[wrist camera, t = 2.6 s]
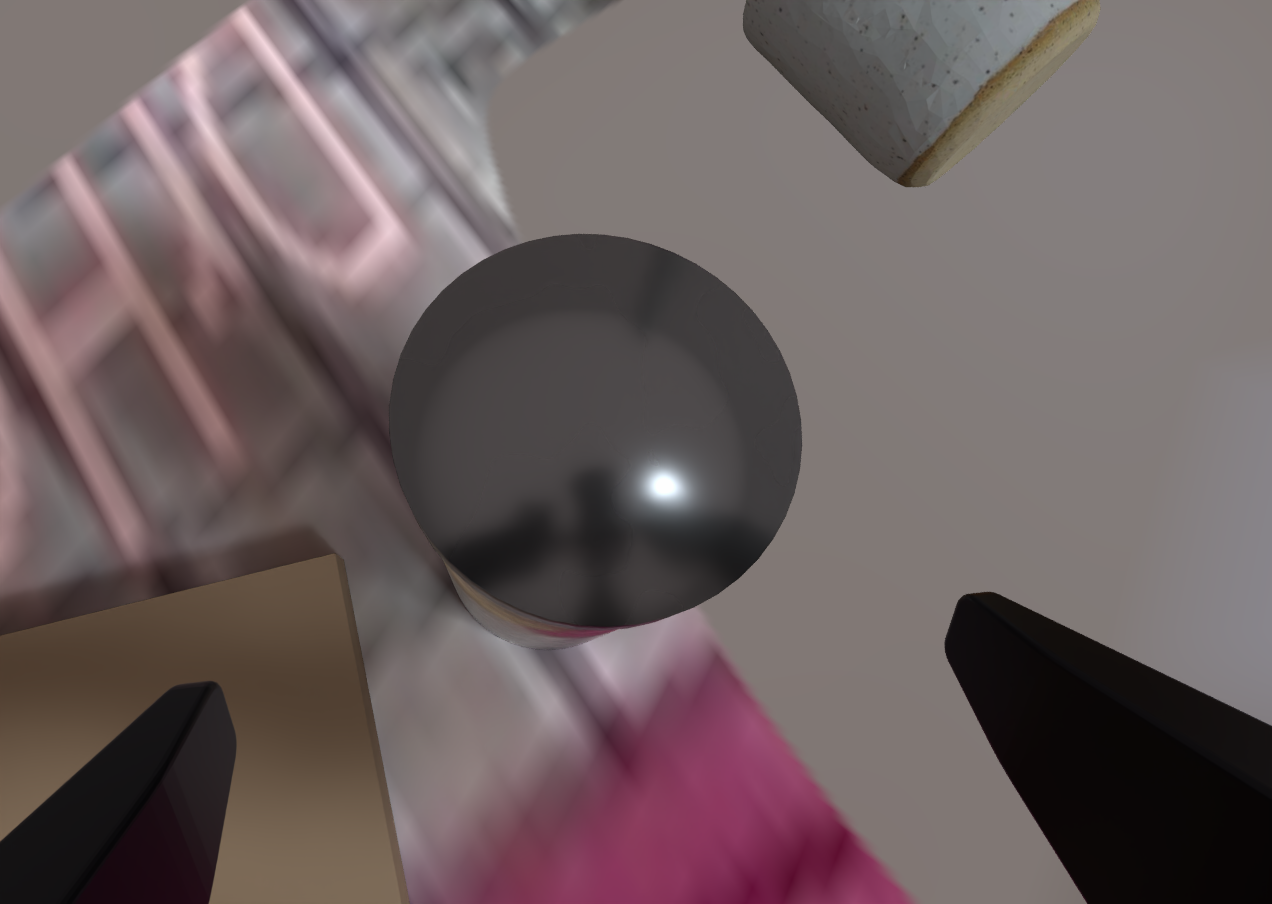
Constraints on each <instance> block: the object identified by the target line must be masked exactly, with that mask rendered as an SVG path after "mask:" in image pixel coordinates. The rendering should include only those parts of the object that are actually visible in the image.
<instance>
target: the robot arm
mask: <svg viewBox="0 0 1272 904" xmlns="http://www.w3.org/2000/svg"><path fill="white" fill-rule="evenodd" d="M945 653H946V656H947V659H948V662H949V664H950V665H951V667H952V669H953V671H954V673H955V675H956V677H957V679H958V681H959V683H960V685H961V687H962V689H963V691H964V693H965V695H966V697H967V699H968V701H969V703H970V705H971V707H972V709H973V711H974V713H975V715H976V717H977V719H978V721H979V723H980V725H981V727H982V729H983V731H984V733H985V735H986V737H987V739H988V741H989V743H990V745H991V747H992V749H993V751H994V753H995V754H996V756H997V758H998V760H999V762H1000V764H1001V765H1002V767H1003V769H1004V770H1005V772H1006V774H1007V775H1008V777H1009V779H1010V780H1011V782H1012V784H1013V785H1014V787H1015V788H1016V790H1017V792H1018V793H1019V795H1020V797H1021V798H1022V800H1023V801H1024V803H1025V805H1026V806H1027V808H1028V810H1029V811H1030V813H1031V814H1032V816H1033V817H1034V819H1035V821H1036V822H1037V824H1038V826H1039V827H1040V829H1041V830H1042V832H1043V834H1044V835H1045V837H1046V838H1047V840H1048V842H1049V843H1050V845H1051V846H1052V848H1053V850H1054V851H1055V853H1056V854H1057V856H1058V858H1059V859H1060V861H1061V862H1062V864H1063V866H1064V867H1065V869H1066V870H1067V872H1068V873H1069V875H1070V877H1071V878H1072V880H1073V882H1074V883H1075V885H1076V886H1077V888H1078V890H1079V891H1080V893H1081V894H1082V896H1083V898H1084V899H1085V901H1086V902H1087V904H1272V726H1271V725H1269V724H1267V723H1265V722H1262V721H1261V720H1258V719H1256V718H1254V717H1252V716H1250V715H1248V714H1246V713H1244V712H1242V711H1240V710H1238V709H1236V708H1234V707H1231V706H1229V705H1227V704H1225V703H1223V702H1221V701H1219V700H1217V699H1215V698H1213V697H1211V696H1208V695H1206V694H1205V693H1202V692H1200V691H1198V690H1196V689H1194V688H1192V687H1190V686H1188V685H1186V684H1184V683H1181V682H1180V681H1177V680H1175V679H1173V678H1171V677H1169V676H1167V675H1165V674H1163V673H1161V672H1159V671H1157V670H1155V669H1153V668H1151V667H1148V666H1146V665H1144V664H1142V663H1140V662H1138V661H1136V660H1134V659H1132V658H1130V657H1128V656H1126V655H1124V654H1122V653H1119V652H1117V651H1115V650H1113V649H1111V648H1109V647H1107V646H1105V645H1103V644H1100V643H1099V642H1097V641H1094V640H1092V639H1090V638H1088V637H1086V636H1084V635H1082V634H1080V633H1078V632H1076V631H1074V630H1072V629H1070V628H1067V627H1065V626H1063V625H1061V624H1059V623H1057V622H1055V621H1053V620H1051V619H1049V618H1047V617H1044V616H1043V615H1041V614H1039V613H1036V612H1034V611H1032V610H1030V609H1028V608H1026V607H1024V606H1022V605H1020V604H1018V603H1016V602H1014V601H1012V600H1009V599H1007V598H1005V597H1003V596H1001V595H999V594H997V593H994V592H981V593H972V594H966V595H963V596H962V597H961V598H960V599H959V600H958V602H957V605H956V608H955V611H954V614H953V617H952V620H951V623H950V626H949V629H948V632H947V635H946V638H945ZM236 750H237V739H236V733H235V729H234V726H233V722H232V719H231V716H230V713H229V710H228V706H227V703H226V700H225V697H224V693H223V690H222V688H221V686H220V685H219V684H218V683H217V682H214V681H203V682H194V683H186V684H179V685H176V686H173V687H172V688H170V689H169V690H167V691H166V692H165V693H164V694H163V695H162V696H161V697H159V698H158V699H157V700H156V701H155V702H154V703H153V704H152V705H151V706H149V707H148V708H147V709H146V710H145V711H144V712H143V713H142V714H141V715H139V716H138V717H137V718H136V719H135V720H134V721H133V722H132V723H131V724H129V725H128V726H127V727H126V728H125V729H124V730H123V731H122V732H121V733H120V734H118V735H117V736H116V737H115V738H114V739H113V740H112V741H111V742H110V743H108V744H107V745H106V746H105V747H104V748H103V749H102V750H101V751H100V752H98V753H97V754H96V755H95V756H94V757H93V758H92V759H91V760H90V761H89V762H87V763H86V764H85V765H84V766H83V767H82V768H81V769H80V770H79V771H77V772H76V773H75V774H74V775H73V776H72V777H71V778H70V779H69V780H67V781H66V782H65V783H64V784H63V785H62V786H61V787H60V788H59V789H58V790H56V791H55V792H54V793H53V794H52V795H51V796H50V797H49V798H48V799H46V800H45V801H44V802H43V803H42V804H41V805H40V806H39V807H38V808H36V809H35V810H34V811H33V812H32V813H31V814H30V815H29V816H28V817H26V818H25V819H24V820H23V821H22V822H21V823H20V824H19V825H18V826H17V827H15V828H14V829H13V830H12V831H11V832H10V833H9V834H8V835H7V836H5V837H4V838H3V839H2V840H1V841H0V904H209V901H210V897H211V892H212V887H213V882H214V877H215V871H216V865H217V860H218V854H219V849H220V843H221V837H222V832H223V826H224V821H225V815H226V809H227V804H228V798H229V792H230V787H231V781H232V776H233V770H234V764H235V759H236Z"/></svg>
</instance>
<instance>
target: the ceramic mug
mask: <svg viewBox="0 0 1272 904" xmlns="http://www.w3.org/2000/svg"><path fill="white" fill-rule="evenodd" d="M1099 12H1100V3H1099V0H746V5H745V9H744V13H743V15H744V16H743V29H744V33H745V35H746V37H747V39H748V40H749V42H750V43H751V44H752V45H753V46H754V48H755V49H756V50H757V51H758V52H760V54H761V55H763V56H764V57H765V58H766V59H767V60H768V61H769V62H770V63H771V64H772V65H773V66H774V67H775V68H776V69H777V70H778V71H779V72H780V73H781V74H782V75H783V76H784V77H785V79H786V80H788V81H789V83H790V84H791V85H792V86H794V88H795V89H796V90H797V91H798V92H799V93H800V94H801V95H802V96H803V97H804V98H805V99H806V100H807V101H808V102H809V103H810V104H811V105H812V106H813V107H814V108H815V109H816V110H818V111H819V112H820V113H821V114H822V115H823V116H824V117H825V118H826V119H827V120H828V121H829V122H830V123H831V124H832V125H833V126H834V127H835V128H836V129H837V130H838V131H839V132H840V133H841V134H842V135H843V136H844V137H845V138H846V140H847V141H848V142H849V143H850V144H851V145H852V146H853V147H854V148H855V149H856V150H857V151H858V152H859V153H860V154H861V155H862V156H863V157H864V158H865V159H866V160H867V161H868V162H869V163H870V164H871V165H873V166H874V167H875V168H877V169H878V170H879V171H881V172H882V173H884V174H885V175H886V176H888V177H889V178H890V179H892V180H893V181H894V182H896V183H898V184H900V185H902V186H905V187H922V186H928V185H930V184H931V183H932V182H934V181H935V180H937V179H938V178H940V177H941V176H942V175H943V174H944V173H946V172H947V171H948V170H949V169H951V168H952V167H953V166H954V165H955V164H957V163H958V162H959V161H960V160H961V159H963V157H965V156H966V155H967V154H968V153H970V152H971V151H972V150H973V149H974V148H975V147H976V146H977V145H979V144H980V143H981V142H982V141H983V140H984V139H985V138H986V137H987V136H989V135H990V134H991V133H992V132H993V131H994V130H995V129H996V128H997V127H999V126H1000V125H1001V124H1002V123H1003V122H1004V121H1005V120H1006V119H1007V118H1008V117H1009V116H1010V115H1011V114H1012V113H1013V112H1014V111H1016V110H1017V109H1018V108H1019V107H1020V106H1021V105H1022V104H1023V103H1024V102H1025V101H1026V100H1027V99H1028V98H1029V97H1030V96H1031V95H1032V94H1033V93H1034V92H1035V91H1037V89H1039V87H1041V86H1042V85H1043V84H1044V83H1045V82H1046V81H1047V80H1048V79H1049V78H1050V77H1051V76H1052V75H1053V74H1054V73H1055V72H1056V71H1057V70H1058V69H1059V67H1061V66H1062V65H1063V63H1064V62H1065V61H1066V60H1067V59H1068V58H1069V57H1070V56H1071V55H1072V54H1073V53H1074V52H1075V51H1076V49H1077V48H1078V47H1079V46H1080V45H1081V44H1082V43H1083V42H1084V40H1085V39H1086V38H1087V37H1088V36H1089V34H1090V33H1091V31H1092V30H1093V28H1094V27H1095V25H1096V23H1097V20H1098V16H1099Z"/></svg>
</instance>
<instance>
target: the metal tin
mask: <svg viewBox="0 0 1272 904" xmlns="http://www.w3.org/2000/svg"><path fill="white" fill-rule="evenodd" d="M389 434H390V441H391V448H392V455H393V461H394V464H395V468H396V471H397V475H398V478H399V481H400V485H401V488H402V490H403V492H404V494H405V497H406V499H407V501H408V503H409V505H410V507H411V510H412V512H413V514H414V516H415V518H416V520H417V522H418V524H419V526H420V528H421V529H422V531H423V532H424V534H425V536H426V537H427V539H428V540H429V542H430V543H431V545H432V546H433V548H434V550H435V551H436V552H437V553H438V554H439V555H440V557H441V558H442V559H443V561H444V564H445V566H446V568H447V570H448V573H449V575H450V577H451V580H452V582H453V584H454V586H455V589H456V591H457V593H458V595H459V597H460V599H461V601H462V602H463V604H464V605H465V607H466V609H467V610H468V611H469V612H470V614H471V615H472V616H473V617H474V618H475V619H476V621H478V622H479V623H480V624H481V625H482V626H483V627H484V628H485V629H487V630H488V631H490V632H491V633H493V634H494V635H496V636H497V637H499V638H501V639H503V640H505V641H507V642H509V643H512V644H515V645H518V646H521V647H525V648H531V649H537V650H556V649H565V648H569V647H574V646H577V645H580V644H583V643H585V642H588V641H591V640H593V639H596V638H598V637H600V636H603V635H605V634H608V633H610V632H613V631H615V630H618V629H625V628H631V627H636V626H640V625H644V624H649V623H653V622H656V621H659V620H662V619H664V618H667V617H670V616H672V615H675V614H678V613H680V612H683V611H686V610H688V609H691V608H694V607H695V606H697V605H699V604H701V603H703V602H704V601H706V600H708V599H710V598H712V597H714V596H715V595H717V594H719V593H720V592H721V591H723V590H724V589H725V588H726V587H728V586H729V585H731V584H732V583H733V582H735V581H736V580H737V579H739V578H740V577H741V576H742V575H743V574H744V573H745V572H746V571H747V570H748V569H749V568H750V567H751V566H752V565H753V564H754V563H755V562H756V561H757V560H758V559H759V557H760V556H761V555H762V553H763V552H764V551H765V549H766V548H767V546H768V545H769V544H770V543H771V541H772V540H773V538H774V537H775V535H776V533H777V531H778V529H779V528H780V526H781V524H782V522H783V520H784V518H785V517H786V514H787V511H788V508H789V506H790V503H791V501H792V498H793V496H794V493H795V488H796V484H797V480H798V475H799V471H800V462H801V451H802V431H801V418H800V412H799V406H798V400H797V395H796V392H795V389H794V385H793V382H792V379H791V376H790V373H789V370H788V368H787V366H786V364H785V361H784V359H783V357H782V355H781V353H780V350H779V349H778V347H777V345H776V344H775V342H774V340H773V339H772V337H771V335H770V333H769V332H768V330H767V329H766V328H765V326H764V325H763V324H762V322H761V321H760V320H759V318H758V317H757V316H756V314H755V313H754V312H753V311H752V310H751V309H750V307H749V306H748V305H747V304H746V303H745V302H744V301H743V300H742V299H741V298H740V297H739V296H738V295H737V294H736V293H735V292H734V291H732V290H731V289H730V288H729V287H727V286H726V285H725V284H724V283H723V282H722V281H720V280H719V279H718V278H717V277H715V276H713V275H712V274H711V273H709V272H708V271H706V270H705V269H703V268H701V267H700V266H698V265H697V264H695V263H693V262H691V261H689V260H687V259H685V258H683V257H681V256H679V255H677V254H675V253H673V252H671V251H668V250H665V249H663V248H660V247H657V246H654V245H652V244H649V243H645V242H641V241H637V240H633V239H629V238H623V237H616V236H609V235H598V234H572V235H561V236H552V237H547V238H542V239H537V240H533V241H528V242H525V243H522V244H519V245H516V246H513V247H510V248H508V249H505V250H503V251H501V252H499V253H497V254H494V255H492V256H490V257H488V258H486V259H484V260H482V261H481V262H479V263H478V264H476V265H475V266H473V267H472V268H470V269H469V270H467V271H466V272H464V273H462V274H461V275H460V276H459V277H458V278H457V279H455V280H454V281H453V282H452V283H451V284H450V285H448V286H447V287H446V288H445V289H444V290H443V291H442V292H441V293H440V294H439V295H438V296H437V298H436V299H435V300H434V301H433V302H432V303H431V304H430V305H429V307H428V308H427V309H426V310H425V312H424V313H423V315H422V316H421V318H420V319H419V321H418V322H417V324H416V325H415V327H414V328H413V330H412V332H411V334H410V336H409V338H408V340H407V342H406V345H405V347H404V349H403V351H402V353H401V356H400V359H399V362H398V366H397V369H396V372H395V375H394V379H393V385H392V391H391V398H390V405H389Z"/></svg>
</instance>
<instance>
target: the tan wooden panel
mask: <svg viewBox="0 0 1272 904" xmlns="http://www.w3.org/2000/svg"><path fill="white" fill-rule="evenodd" d="M203 681H214V682H217V683H218V684H219V685H220V686H221V688H222V690H223V693H224V697H225V700H226V703H227V706H228V710H229V713H230V716H231V719H232V722H233V726H234V729H235V733H236V739H237V750H236V759H235V764H234V770H233V776H232V781H231V787H230V792H229V798H228V804H227V809H226V815H225V821H224V826H223V832H222V837H221V843H220V849H219V854H218V860H217V865H216V871H215V877H214V882H213V887H212V892H211V897H210V901H209V904H410V903H409V897H408V892H407V887H406V882H405V877H404V871H403V866H402V861H401V856H400V851H399V845H398V840H397V835H396V830H395V825H394V819H393V814H392V809H391V804H390V799H389V793H388V788H387V783H386V778H385V773H384V767H383V762H382V757H381V752H380V747H379V741H378V736H377V731H376V726H375V721H374V715H373V710H372V705H371V700H370V695H369V689H368V684H367V679H366V674H365V669H364V663H363V658H362V653H361V648H360V643H359V637H358V632H357V627H356V622H355V617H354V611H353V606H352V601H351V596H350V591H349V585H348V580H347V575H346V570H345V565H344V560H343V559H342V558H341V557H339V556H338V555H337V554H335V553H334V554H330V555H326V556H322V557H317V558H313V559H309V560H305V561H301V562H297V563H293V564H289V565H285V566H281V567H277V568H273V569H269V570H265V571H261V572H257V573H253V574H248V575H244V576H240V577H236V578H232V579H228V580H224V581H220V582H216V583H212V584H208V585H204V586H200V587H196V588H192V589H188V590H183V591H179V592H175V593H171V594H167V595H163V596H159V597H155V598H151V599H147V600H143V601H139V602H135V603H131V604H127V605H123V606H118V607H114V608H110V609H106V610H102V611H98V612H94V613H90V614H86V615H82V616H78V617H74V618H70V619H66V620H62V621H58V622H53V623H49V624H45V625H41V626H37V627H33V628H29V629H25V630H21V631H17V632H13V633H9V634H5V635H1V636H0V841H1V840H2V839H3V838H4V837H5V836H7V835H8V834H9V833H10V832H11V831H12V830H13V829H14V828H15V827H17V826H18V825H19V824H20V823H21V822H22V821H23V820H24V819H25V818H26V817H28V816H29V815H30V814H31V813H32V812H33V811H34V810H35V809H36V808H38V807H39V806H40V805H41V804H42V803H43V802H44V801H45V800H46V799H48V798H49V797H50V796H51V795H52V794H53V793H54V792H55V791H56V790H58V789H59V788H60V787H61V786H62V785H63V784H64V783H65V782H66V781H67V780H69V779H70V778H71V777H72V776H73V775H74V774H75V773H76V772H77V771H79V770H80V769H81V768H82V767H83V766H84V765H85V764H86V763H87V762H89V761H90V760H91V759H92V758H93V757H94V756H95V755H96V754H97V753H98V752H100V751H101V750H102V749H103V748H104V747H105V746H106V745H107V744H108V743H110V742H111V741H112V740H113V739H114V738H115V737H116V736H117V735H118V734H120V733H121V732H122V731H123V730H124V729H125V728H126V727H127V726H128V725H129V724H131V723H132V722H133V721H134V720H135V719H136V718H137V717H138V716H139V715H141V714H142V713H143V712H144V711H145V710H146V709H147V708H148V707H149V706H151V705H152V704H153V703H154V702H155V701H156V700H157V699H158V698H159V697H161V696H162V695H163V694H164V693H165V692H166V691H167V690H169V689H170V688H172V687H173V686H176V685H179V684H186V683H194V682H203Z"/></svg>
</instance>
